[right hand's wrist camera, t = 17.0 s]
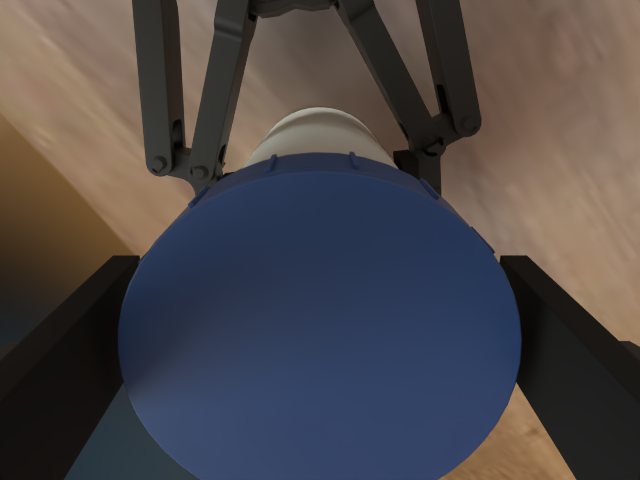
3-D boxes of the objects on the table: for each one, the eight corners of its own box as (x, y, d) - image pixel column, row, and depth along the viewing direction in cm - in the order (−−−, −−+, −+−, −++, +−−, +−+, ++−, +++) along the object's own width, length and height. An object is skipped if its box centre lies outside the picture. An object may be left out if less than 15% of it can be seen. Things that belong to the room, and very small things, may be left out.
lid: (309, 65, 10) (307, 65, 8) (559, 313, 12) (604, 360, 10) (82, 327, 12) (38, 376, 10) (326, 495, 15) (327, 561, 13)
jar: (375, 238, 30) (451, 478, 13) (253, 228, 30) (160, 459, 13) (392, 113, 27) (521, 200, 10) (258, 101, 27) (145, 169, 10)
